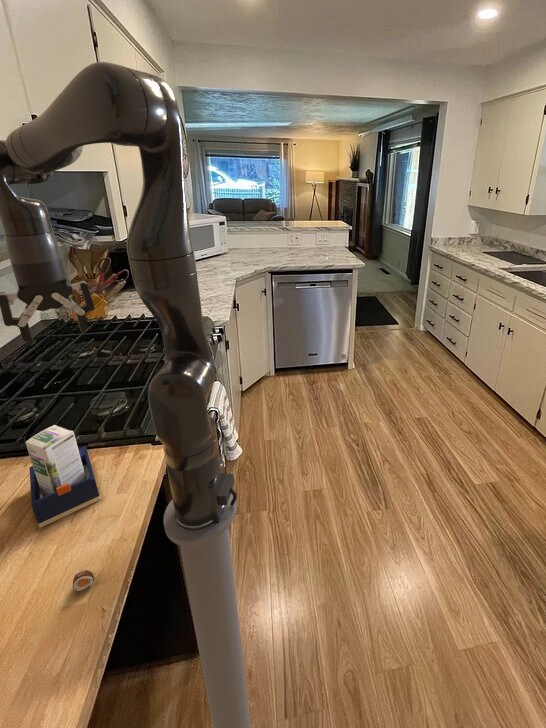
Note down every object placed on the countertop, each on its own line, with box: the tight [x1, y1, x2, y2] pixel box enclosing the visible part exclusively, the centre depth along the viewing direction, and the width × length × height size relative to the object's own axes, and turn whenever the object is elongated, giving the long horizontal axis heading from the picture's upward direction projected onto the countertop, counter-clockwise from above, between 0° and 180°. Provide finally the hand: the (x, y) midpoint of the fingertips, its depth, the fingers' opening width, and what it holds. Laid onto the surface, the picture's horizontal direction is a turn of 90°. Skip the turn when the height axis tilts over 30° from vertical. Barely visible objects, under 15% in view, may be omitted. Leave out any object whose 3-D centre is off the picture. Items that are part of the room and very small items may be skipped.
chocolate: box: [71, 568, 95, 592], centre depth 57 cm, size 3×2×4 cm
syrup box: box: [25, 424, 86, 497], centre depth 71 cm, size 6×6×14 cm
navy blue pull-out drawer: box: [28, 445, 101, 529], centre depth 73 cm, size 12×10×7 cm
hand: (58, 336), depth 72 cm, fingers open, 8 cm apart
